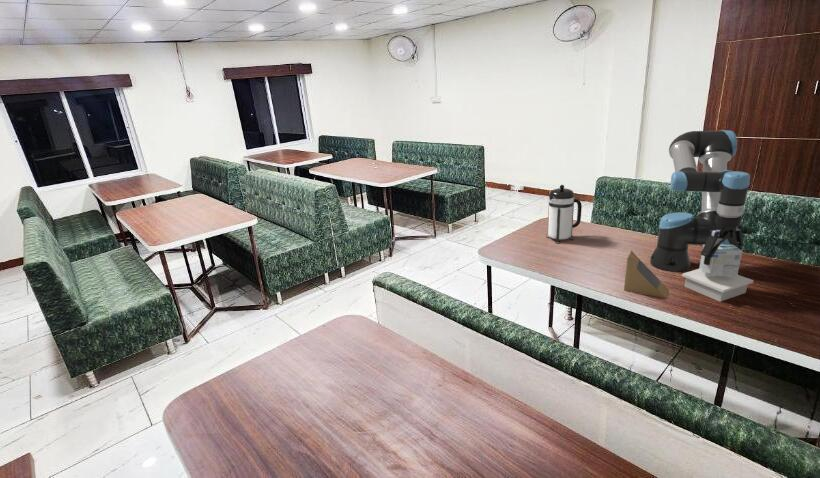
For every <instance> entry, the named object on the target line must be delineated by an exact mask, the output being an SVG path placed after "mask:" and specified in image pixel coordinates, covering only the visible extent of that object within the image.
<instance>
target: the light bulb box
mask: <svg viewBox="0 0 820 478" xmlns="http://www.w3.org/2000/svg"><path fill="white" fill-rule="evenodd" d="M704 246H705V245H703V246H702V249H703V248H704ZM742 255H743V250H742V249H739V248H738V247H736V246H735V245H720V246H719V247H718V249H717V250H716V252H715V253H714V255H713V256H712V257H714V259H713V265H712V270H711V273H707V272H704V271H702V270H703V265H704V258H705V256H703V255H701V254H700V256H701V257H700V262H699V268H698V269H699V270H700V271H701V272H702V273H703V274H704V275H705V276H735V277H737V275H739V274H738V273H739V269H740V265H741V260H742Z"/></svg>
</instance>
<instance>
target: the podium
mask: <svg viewBox="0 0 820 478" xmlns="http://www.w3.org/2000/svg"><path fill="white" fill-rule="evenodd" d="M681 277H683V278H685V281H684V288H686V289H690V290H692V291H694V292H697V293H698V294H701V295H704V296H706V297H708V298H710V299H713V300H716V301H718V302H724V301H726V300H729V299H732V298H735V297H738V296H740V295H743V294H746V292H747V288H748V285H750V284H753V283H754V280H753V279H750V278H749V277H745V276H742V275H739V274H737V277H735V276H705V275H704V274H703V273H702V272H701V271H700V270H699V268H696V269H693V270H691V271H687V272H684V273H682V274H681Z"/></svg>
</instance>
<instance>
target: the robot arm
mask: <svg viewBox="0 0 820 478" xmlns="http://www.w3.org/2000/svg"><path fill="white" fill-rule="evenodd" d="M737 146H738V140H737V135H736V133H735V132H734V131H732V130H729V129H728V130H727V129H726V130H724V129H719V130H695V131H694V130H693V131H687V132H685V133H682V134H680V135H678V136H677V137H675V138H674V139H673V141H671V143H670V145H669V148H668V154H669V157H670V158H671V159H672V161H673V168H674V172H672V174H671V177H670V183H669V185H670V189H671V191H675V192H681V193H682V192H701V211H700V212H699V213H698V214H697V215H696V217H695V216H694V215H693V214H692V213H689V212H678V211H677V212H670V213H667V214H665V215H663V216H662V217H660V223H659V225H658V228H659V229H658V235H657V240H656V241H657V244H656V247H655V249H654V251H653V253H652V255H651V256H650V260H649V261H650V262H649V263H650V265H651V266H652V267H654V268H656V269H660V270H663V271H669V272H684V271H687V270H689V269H690V267H691V260H690V259H691V258H690V255H689V245H690V246H691V245H692V246H702V250H701V253H700V256H701V255H703V256H705V258H704V265H703V270H702V271H704V272H707V273H711V270H712V265H713V259H714V257H712V256H713V255H714V253H715V252H716V250H717V249H718V247H719V246H720V245H735V246H736V247H738V248H739V249H741V250H742V248H743V247H744V238H743V231H742V230H743V225H742V224H741V223H742V220H743V219H742V218H743V213H744V211H745V205H746V200H747V195H748V191H749V186H750V185H751V182H750V181H751V174H750V173H748V172H745V171H736V170H735V171H733V170H730V169H728V162H730V161H731V160H732V158H733V157H735V155H736V153H737V149H738V147H737ZM695 158H698V161H699V163H700V164H701V165H702V171H698V166H697V164H696V163H697V162H696V159H695ZM703 245H705V246H704V248H703Z"/></svg>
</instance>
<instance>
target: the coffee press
mask: <svg viewBox="0 0 820 478" xmlns="http://www.w3.org/2000/svg"><path fill="white" fill-rule="evenodd" d="M575 196H576V194H575V193H574V191H573V190H572V189H569V188H565V185H564V184H560V185H559V188H555V189H552V190H550V192H549V194H548V200H547V202H548V213H547V215H548V217H547V234H545V236H547V235H548V236H549V238H551V239H555V243H556V242H559V243H560V240H567V239H570V240H571V239H575V237H574V235H573V229H575V228H577V227H578V226H579V225H580V223H581V220H582V208H583V206H582V202H581V200H579V199H577V198H575ZM575 203H576V205H577V211H576V212H577V214H576V221H575V222H574V212H575V211H574V208H575ZM573 222H574V223H573Z"/></svg>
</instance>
